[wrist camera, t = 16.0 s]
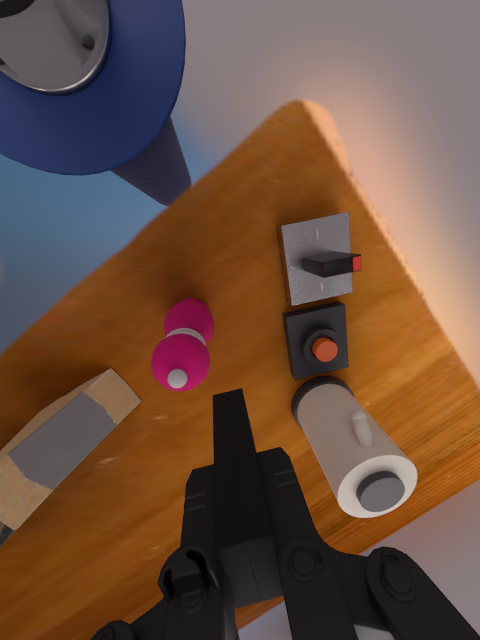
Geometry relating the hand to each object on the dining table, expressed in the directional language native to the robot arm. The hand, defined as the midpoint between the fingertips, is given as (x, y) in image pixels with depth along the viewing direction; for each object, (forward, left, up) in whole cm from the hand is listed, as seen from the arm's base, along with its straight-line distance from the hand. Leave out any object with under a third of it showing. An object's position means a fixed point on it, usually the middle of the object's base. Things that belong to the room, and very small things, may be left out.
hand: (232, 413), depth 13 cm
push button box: (+12, +15, -29) cm, 35 cm away
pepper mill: (+3, -5, -30) cm, 30 cm away
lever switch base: (-2, +16, -29) cm, 34 cm away
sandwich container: (+15, -26, -30) cm, 42 cm away
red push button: (+12, +15, -26) cm, 32 cm away
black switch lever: (-2, +16, -26) cm, 31 cm away
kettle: (+26, +15, -29) cm, 42 cm away
